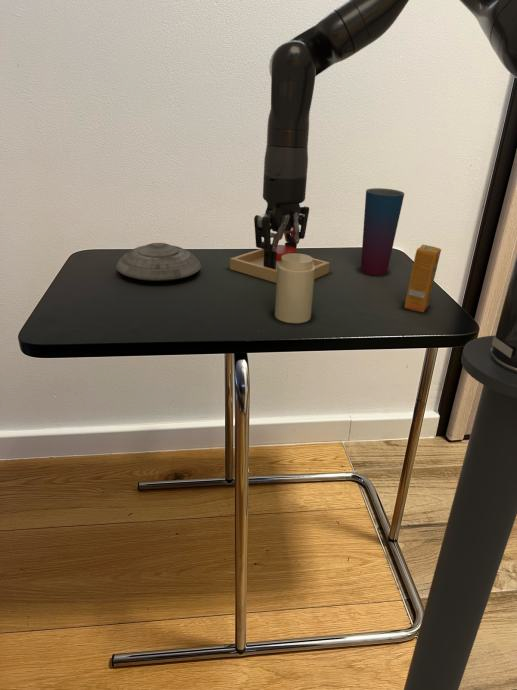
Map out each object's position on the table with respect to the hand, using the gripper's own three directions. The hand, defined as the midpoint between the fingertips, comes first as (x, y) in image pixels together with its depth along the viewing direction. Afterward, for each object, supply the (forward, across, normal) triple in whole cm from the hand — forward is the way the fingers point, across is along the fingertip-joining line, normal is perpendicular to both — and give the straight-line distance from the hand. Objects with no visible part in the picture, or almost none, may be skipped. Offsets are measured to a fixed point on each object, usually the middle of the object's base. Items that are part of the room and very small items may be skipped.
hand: (279, 265), depth 101 cm
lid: (-3, 0, 0) cm, 3 cm away
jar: (+1, +16, +14) cm, 21 cm away
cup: (+1, -13, +13) cm, 18 cm away
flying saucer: (+1, +16, -15) cm, 22 cm away
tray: (+1, 0, 0) cm, 1 cm away
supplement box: (+1, -1, +27) cm, 27 cm away
